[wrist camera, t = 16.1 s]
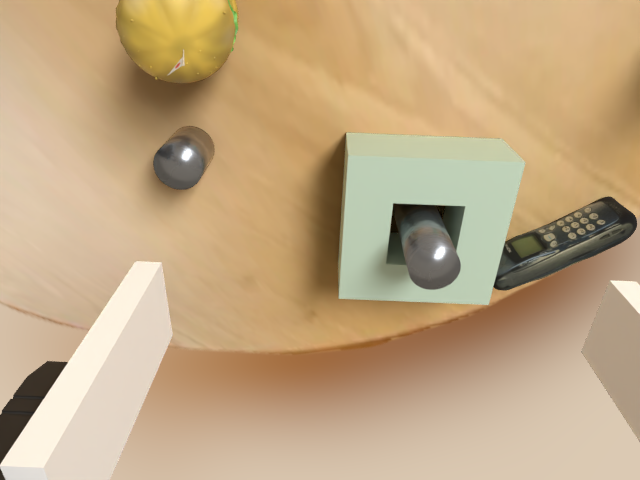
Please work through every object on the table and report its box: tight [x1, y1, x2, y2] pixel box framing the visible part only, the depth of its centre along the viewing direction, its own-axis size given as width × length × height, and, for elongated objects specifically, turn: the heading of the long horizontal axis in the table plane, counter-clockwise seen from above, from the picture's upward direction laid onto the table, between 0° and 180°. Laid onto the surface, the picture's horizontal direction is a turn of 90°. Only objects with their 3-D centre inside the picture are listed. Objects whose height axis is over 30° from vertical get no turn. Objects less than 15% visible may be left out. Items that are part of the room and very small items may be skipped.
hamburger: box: [116, 0, 238, 84], centre depth 34 cm, size 8×7×12 cm
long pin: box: [393, 203, 461, 290], centre depth 42 cm, size 4×4×11 cm
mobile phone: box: [493, 197, 637, 290], centre depth 46 cm, size 5×3×15 cm
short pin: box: [153, 126, 214, 190], centre depth 42 cm, size 4×4×5 cm
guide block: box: [338, 133, 525, 305], centre depth 44 cm, size 14×14×6 cm
